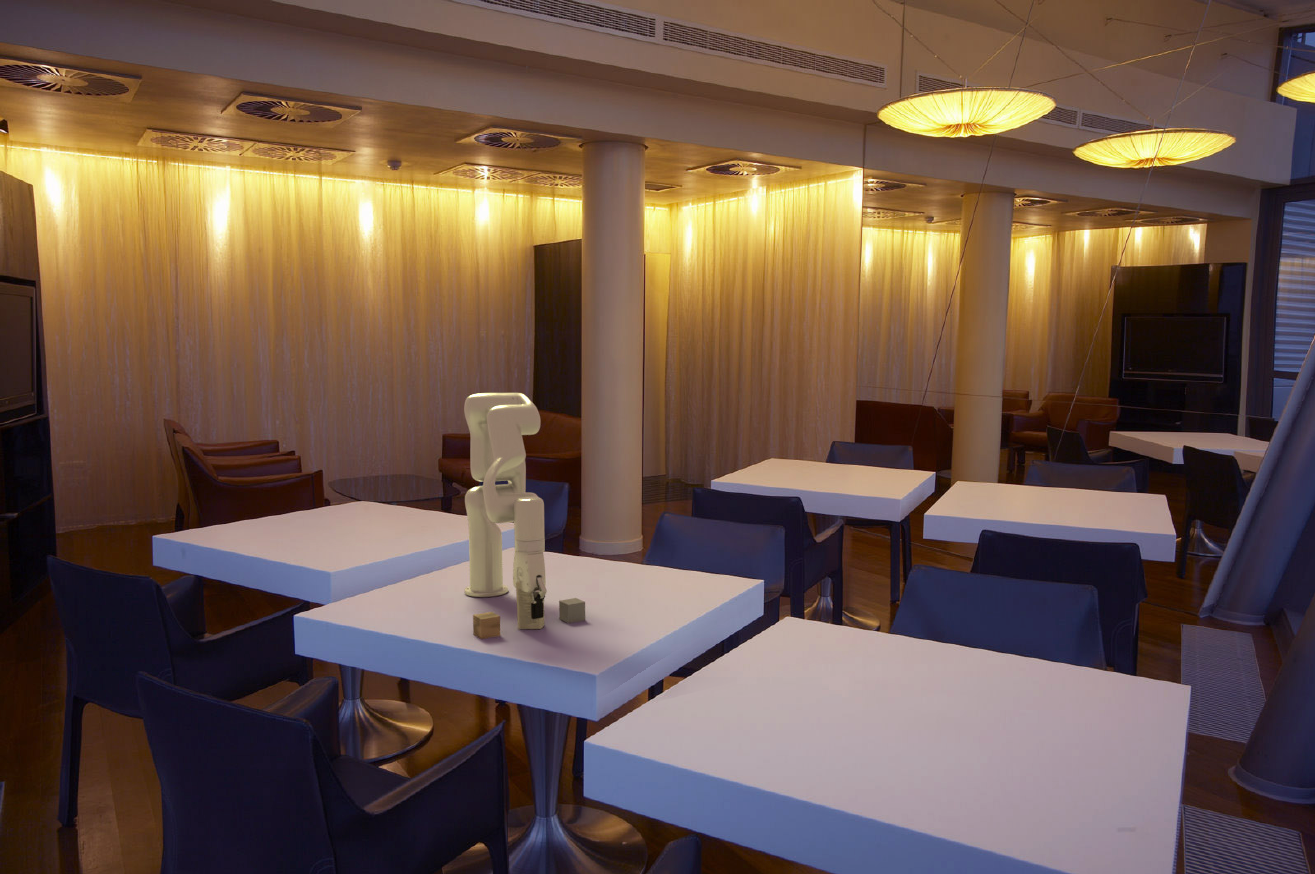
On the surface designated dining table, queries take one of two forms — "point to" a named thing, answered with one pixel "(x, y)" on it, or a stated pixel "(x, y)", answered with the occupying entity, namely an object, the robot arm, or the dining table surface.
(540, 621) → the skincare box
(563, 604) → the grayish brown block
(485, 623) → the walnut block
